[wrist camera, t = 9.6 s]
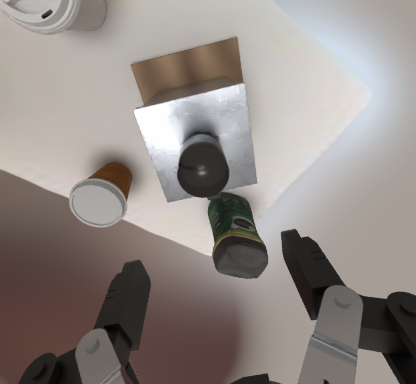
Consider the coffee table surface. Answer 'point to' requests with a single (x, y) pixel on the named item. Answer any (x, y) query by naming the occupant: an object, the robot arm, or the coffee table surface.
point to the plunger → (202, 166)
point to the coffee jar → (236, 238)
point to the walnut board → (188, 67)
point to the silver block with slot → (198, 130)
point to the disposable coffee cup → (102, 196)
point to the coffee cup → (55, 14)
